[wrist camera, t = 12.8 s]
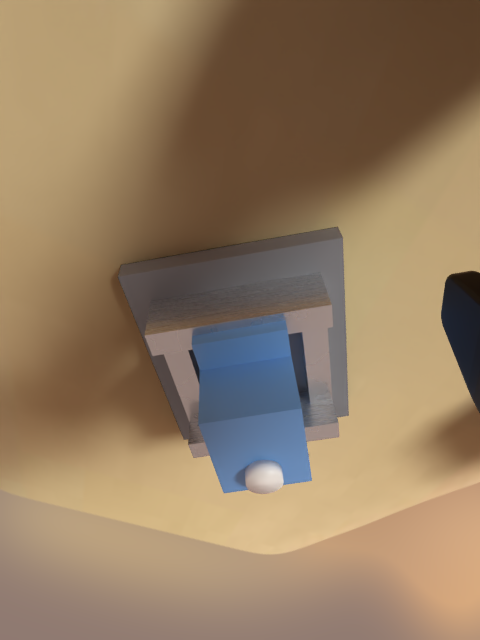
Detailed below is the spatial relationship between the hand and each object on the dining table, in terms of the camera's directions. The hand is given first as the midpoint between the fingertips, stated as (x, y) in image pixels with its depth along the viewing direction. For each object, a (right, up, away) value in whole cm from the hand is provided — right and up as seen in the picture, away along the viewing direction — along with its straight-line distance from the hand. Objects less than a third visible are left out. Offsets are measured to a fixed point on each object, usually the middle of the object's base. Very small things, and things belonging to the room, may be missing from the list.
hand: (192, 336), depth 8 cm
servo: (+1, -2, +15) cm, 15 cm away
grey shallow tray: (+1, -1, +16) cm, 16 cm away
